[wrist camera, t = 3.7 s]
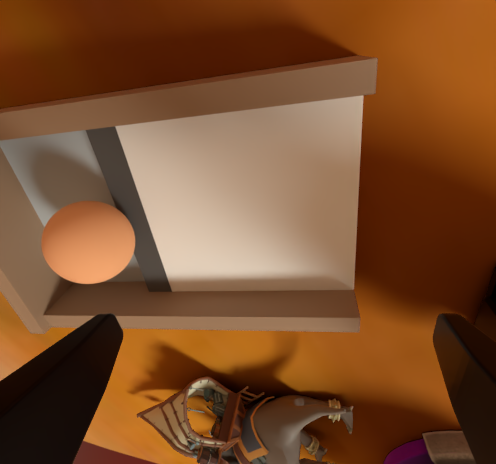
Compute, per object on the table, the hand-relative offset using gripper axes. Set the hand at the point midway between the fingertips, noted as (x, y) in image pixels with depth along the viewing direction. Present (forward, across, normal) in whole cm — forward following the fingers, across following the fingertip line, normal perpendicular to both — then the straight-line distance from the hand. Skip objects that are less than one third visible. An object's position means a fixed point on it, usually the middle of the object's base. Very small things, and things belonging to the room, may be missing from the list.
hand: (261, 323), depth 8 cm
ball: (+5, +9, 0) cm, 10 cm away
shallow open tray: (+9, +6, 0) cm, 10 cm away
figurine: (+9, +5, +20) cm, 22 cm away
